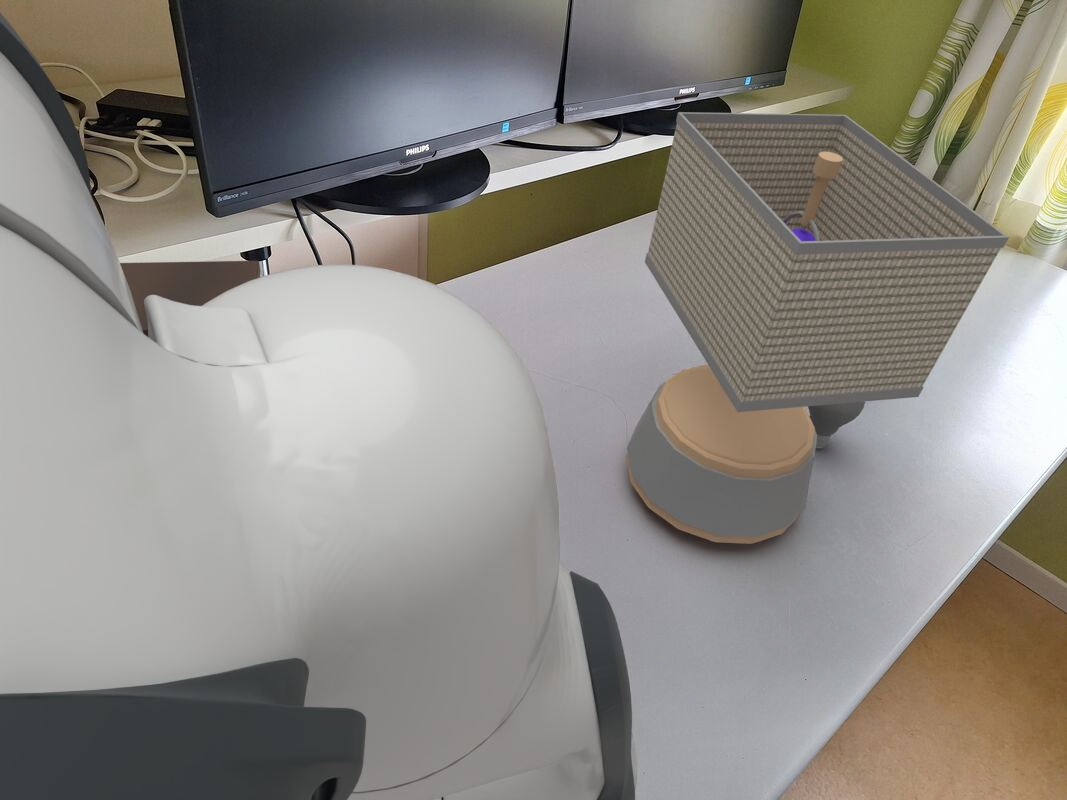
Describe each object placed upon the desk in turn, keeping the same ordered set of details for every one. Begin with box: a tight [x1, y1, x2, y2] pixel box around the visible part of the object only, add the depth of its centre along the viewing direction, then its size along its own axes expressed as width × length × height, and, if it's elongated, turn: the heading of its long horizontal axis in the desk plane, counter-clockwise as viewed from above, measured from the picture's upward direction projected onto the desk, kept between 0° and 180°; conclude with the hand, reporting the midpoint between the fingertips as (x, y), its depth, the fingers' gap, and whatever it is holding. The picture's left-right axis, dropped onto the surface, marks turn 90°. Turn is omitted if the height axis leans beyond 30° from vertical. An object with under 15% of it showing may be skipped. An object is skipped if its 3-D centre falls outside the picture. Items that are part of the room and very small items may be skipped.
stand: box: [120, 260, 261, 337], centre depth 63 cm, size 11×9×26 cm
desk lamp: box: [625, 111, 1010, 545], centre depth 69 cm, size 22×19×37 cm
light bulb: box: [807, 401, 866, 449], centre depth 85 cm, size 6×6×10 cm
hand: (397, 445), depth 58 cm, fingers open, 8 cm apart
